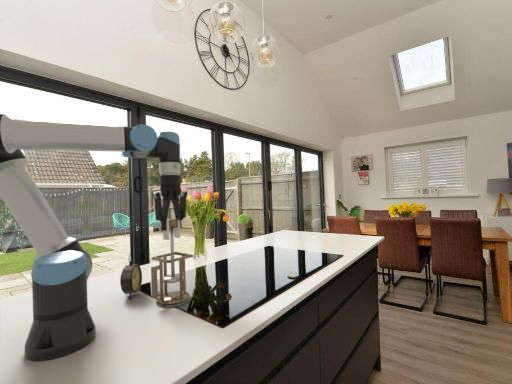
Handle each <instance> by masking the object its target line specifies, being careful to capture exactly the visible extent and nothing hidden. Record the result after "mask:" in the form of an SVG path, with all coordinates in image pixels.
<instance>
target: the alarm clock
mask: <svg viewBox="0 0 512 384" xmlns="http://www.w3.org/2000/svg"><path fill="white" fill-rule="evenodd" d="M128 259H130V260H128V263H129V264H127V265H125V266H124V267H123V269H122V271H121V273H120V280H119V281H120V288H121V292H122V293H123V294H125V296H127V295H129V296H128V300H132V294H138V293H139V292H140V290H141V289H142V288H141V287H142V284H143V274H142V268H141V266H140V265H139V264H138V263H134V264H133V263H132V262H133V261H132V260H133V256H132V253H130V254H129V255H128Z"/></svg>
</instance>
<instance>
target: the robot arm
mask: <svg viewBox="0 0 512 384" xmlns="http://www.w3.org/2000/svg"><path fill="white" fill-rule="evenodd" d="M23 150H26V151H27V150H28V151H30V150H32V151H36V150H37V151H74V152H75V151H77V152H78V151H80V152H81V151H82V152H121V155H122V157H124V158H131V159H158V174H159V177H158V178H159V181H158V182H159V190H158V191H155V192H152V196H153V199H154V201H153V202H154V214H155V220H156V221H159V222H160V229H161V231H162V239H163V240H166V241H170V228H169V221H167V219H168V215H169V208H170V204H171V203H172V207H173V212H174V217H175V218H174V219H177V228H173V231H174V239H176V238H177V239H181V229H182V227H183V226H182V224H183V223H182V221H183V220H184V219H185V218H186V217H187V196H188V192H187V191H183V190H182V188H181V185H182V177H181V173H182V172H181V143H180V136H179V134H178V133H177V132H174V131H161V132H159V133H158V134H157V132H156V130H155V129H154V128H153V127H151V125H147V124H141V123H140V124H138V125H136V126H124V125H123V126H121V125H107V124H106V125H105V124H93V123H92V124H91V123H80V122H79V123H77V122H76V123H75V122H62V121H60V122H59V121H49V120H47V121H46V120H45V121H44V120H31V119H16V118H15V119H14V118H12V116H10V115H9V114H3V113H0V199H2V201H3V203H4V204H5V206H6V208H7V209H8V210H9V212H10V213H11V214H12V217H13V218H14V219H15V222H16V223H17V224H18V226H19V227H20V229H21V230H22V232H23V233H24V235H25V236H26V238H27V239H28V241H29V243H30V244H31V245H32V248H34V250H35V251H36V252H35V254H34V258H33V261H34V262H33V264H32V268H31V273H30V275H31V282H32V283H31V285H32V287H31V288H32V314H33V315H32V323H31V326H30V329H29V332H28V335H27V338H26V341H25V343H24V357H25V358H26V359H28V360H30V361H47V360H52V359H57V358H60V357H64V356H67V355H70V354H72V353H74V352H77V351H78V350H81V349H83V348H85V346H87V345H88V344H90V343H91V342H92V341H93V340H94V339H95V337H96V334H97V333H96V328H97V327H96V324H95V322H94V320H93V318H92V315H91V313H90V310H89V307H88V280H89V276H90V274H91V272H92V269H93V260H92V257H91V255H90V253H88V251H87V250H85V249H83V247H82V246H81V243H80V242H79V241H78V239H77V238H75V237H73V236H72V237H71V236H69V235H68V234H67V232H66V230H65V228H64V227H63V226H62V224H61V222H60V221H59V219H58V218H57V216H56V215H55V212H54V211H53V209H52V207H51V206H50V204H49V203H48V201H47V199H46V198H45V196H44V195H43V194H42V191H41V190H40V188H39V186H38V185H37V183H36V182H35V180H34V179H33V177H32V175H31V174H30V172H29V170H28V169H27V166H28V163H29V158H28V157H27V156H26V153H25V152H24V151H23Z"/></svg>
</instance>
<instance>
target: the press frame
mask: <svg viewBox="0 0 512 384" xmlns="http://www.w3.org/2000/svg"><path fill="white" fill-rule="evenodd" d="M175 255H178V256H180V257H174V259H171V258H170V259H167V258H168V257H171V252H169V253H164V254H161V255H155V256H151V260H152V261H158V262H159V263H158V264H159V265H158V264H157V265H153V266H150V278H151V280H150V281H151V297H153V298H157V299H156V301H155V302H156V306H157V307H159V308H163V309H164V308H165V309H167V308H168V309H171V308H172V309H173V308H177V307H180V306H183V305H186V304H188V303H189V302H190V301H191V300H192V298H191V295H190V293H189V292H188V291H187V284H186V282H187V281H186V260H187V259H190V258H193V257H194V254H192V253H185V252H178V251H174V256H175ZM171 262H174V263H175V262H178V268H179V269H178V270H179V272H178V274H180V281H179V290H175V291H174V290H173V291H169V292H168V283H164V282H163V277H164V276H166V275H168V269H167V268H168V267H167V266H168V265H167V264H171ZM158 270H159V287H158ZM183 275H184V279H183ZM158 288H159V289H158ZM158 290H159V291H158Z"/></svg>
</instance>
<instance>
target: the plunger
mask: <svg viewBox="0 0 512 384" xmlns="http://www.w3.org/2000/svg"><path fill="white" fill-rule="evenodd" d="M167 221H169V238H170V240H169V241H170V253H171V256H170V260H171V259H175V255H174V252H175V242H174V241H175V240H174V239H175V238H174V228H177V219H176V218H169V219H168V218H167ZM175 267H176V266H175V262H171V263H170V274H167V275H166V276H164V275H163V284H164V283H167V284H174V283H180V274H179V273H176V272H175ZM183 279H184V275H183Z"/></svg>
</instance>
